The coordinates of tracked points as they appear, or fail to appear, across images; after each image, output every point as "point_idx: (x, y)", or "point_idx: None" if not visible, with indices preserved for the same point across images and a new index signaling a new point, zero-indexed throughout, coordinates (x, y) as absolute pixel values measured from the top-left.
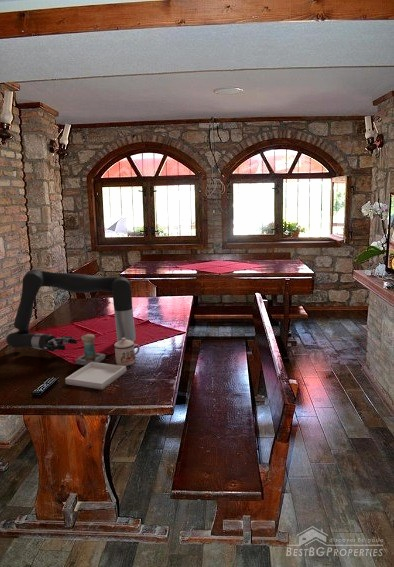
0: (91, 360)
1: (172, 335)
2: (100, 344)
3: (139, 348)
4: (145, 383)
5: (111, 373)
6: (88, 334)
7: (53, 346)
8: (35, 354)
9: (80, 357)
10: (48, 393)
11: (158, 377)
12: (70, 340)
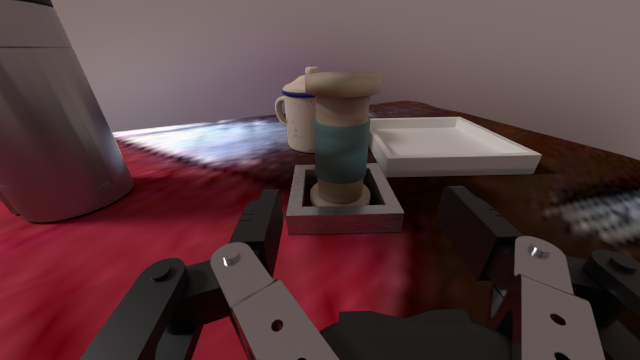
0: (370, 169)
1: None
2: (66, 276)
3: (280, 108)
4: (385, 114)
5: (395, 134)
6: (312, 77)
7: (598, 252)
8: None
9: (367, 208)
10: (618, 177)
11: None
12: (268, 245)
